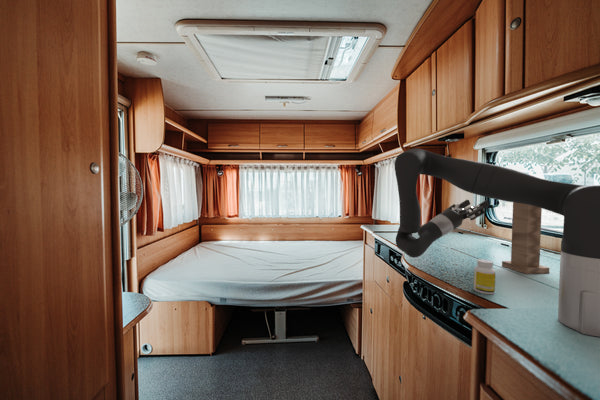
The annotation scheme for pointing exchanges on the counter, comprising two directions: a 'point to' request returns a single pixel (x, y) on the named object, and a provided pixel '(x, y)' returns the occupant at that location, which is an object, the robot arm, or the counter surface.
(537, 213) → the stand
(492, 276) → the supplement bottle
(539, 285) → the counter surface
